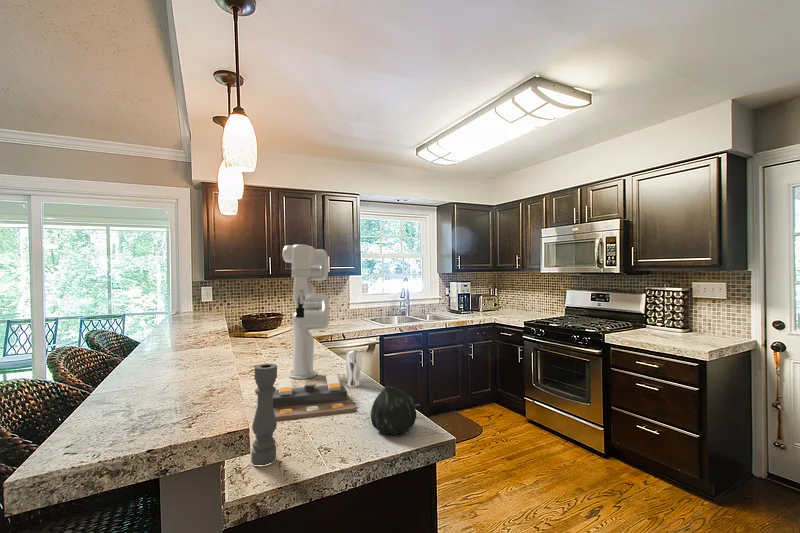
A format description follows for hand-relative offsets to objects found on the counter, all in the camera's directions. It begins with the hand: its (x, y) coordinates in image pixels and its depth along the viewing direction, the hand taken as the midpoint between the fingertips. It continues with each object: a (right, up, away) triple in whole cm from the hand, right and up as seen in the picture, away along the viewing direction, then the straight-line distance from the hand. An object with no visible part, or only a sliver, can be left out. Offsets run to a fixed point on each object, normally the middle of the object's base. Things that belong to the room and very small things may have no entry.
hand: (299, 317), depth 155 cm
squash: (+40, -31, -37) cm, 63 cm away
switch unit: (+8, -31, -17) cm, 36 cm away
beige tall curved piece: (+21, -32, +9) cm, 39 cm away
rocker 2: (+8, -24, -14) cm, 29 cm away
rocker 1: (-1, -24, -17) cm, 29 cm away
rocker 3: (+16, -24, -11) cm, 31 cm away
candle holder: (+6, -30, -58) cm, 65 cm away
